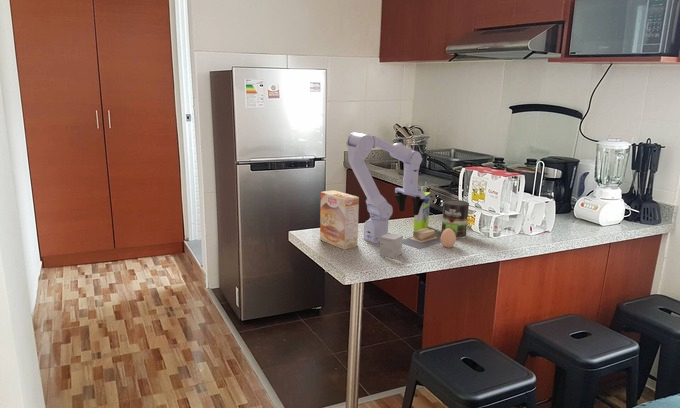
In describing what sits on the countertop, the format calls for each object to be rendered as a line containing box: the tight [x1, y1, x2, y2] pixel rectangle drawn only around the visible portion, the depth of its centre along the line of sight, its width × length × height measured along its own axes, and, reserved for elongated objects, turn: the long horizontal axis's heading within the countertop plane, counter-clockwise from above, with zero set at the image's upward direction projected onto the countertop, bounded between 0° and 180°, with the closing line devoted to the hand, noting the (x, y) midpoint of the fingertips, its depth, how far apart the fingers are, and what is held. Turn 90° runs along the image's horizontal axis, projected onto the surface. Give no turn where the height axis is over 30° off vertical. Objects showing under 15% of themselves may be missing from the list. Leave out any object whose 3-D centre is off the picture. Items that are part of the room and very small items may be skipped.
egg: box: [439, 228, 457, 248], centre depth 197 cm, size 6×6×8 cm
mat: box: [402, 235, 441, 250], centre depth 204 cm, size 18×12×1 cm, turn 131°
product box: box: [379, 232, 404, 260], centre depth 188 cm, size 6×6×7 cm
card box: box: [412, 227, 436, 241], centre depth 207 cm, size 4×8×3 cm, turn 131°
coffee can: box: [440, 199, 470, 239], centre depth 213 cm, size 10×10×14 cm
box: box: [413, 186, 431, 231], centre depth 221 cm, size 10×4×17 cm, turn 154°
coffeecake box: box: [319, 189, 360, 250], centre depth 198 cm, size 15×7×20 cm, turn 40°
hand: (408, 212), depth 211 cm, fingers open, 7 cm apart
